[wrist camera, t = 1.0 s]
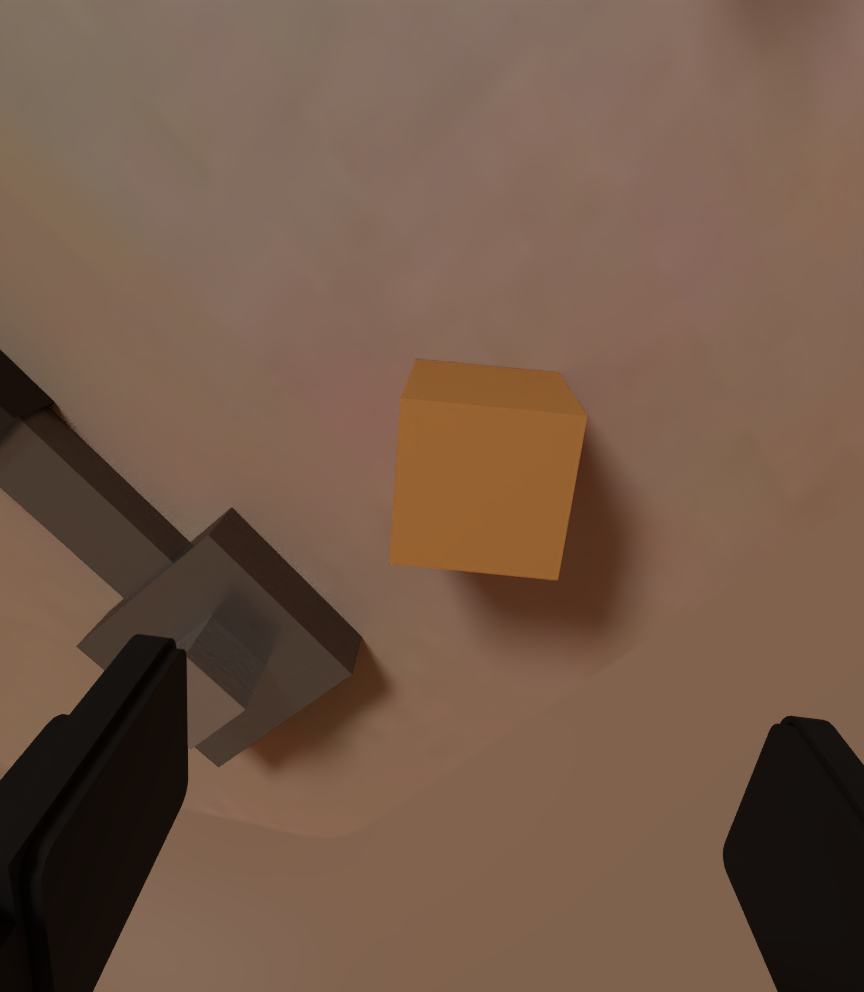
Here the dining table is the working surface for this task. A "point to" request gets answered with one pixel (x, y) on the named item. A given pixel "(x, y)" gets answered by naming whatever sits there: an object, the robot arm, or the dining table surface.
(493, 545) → the orange cube
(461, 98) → the dining table surface
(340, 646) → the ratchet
